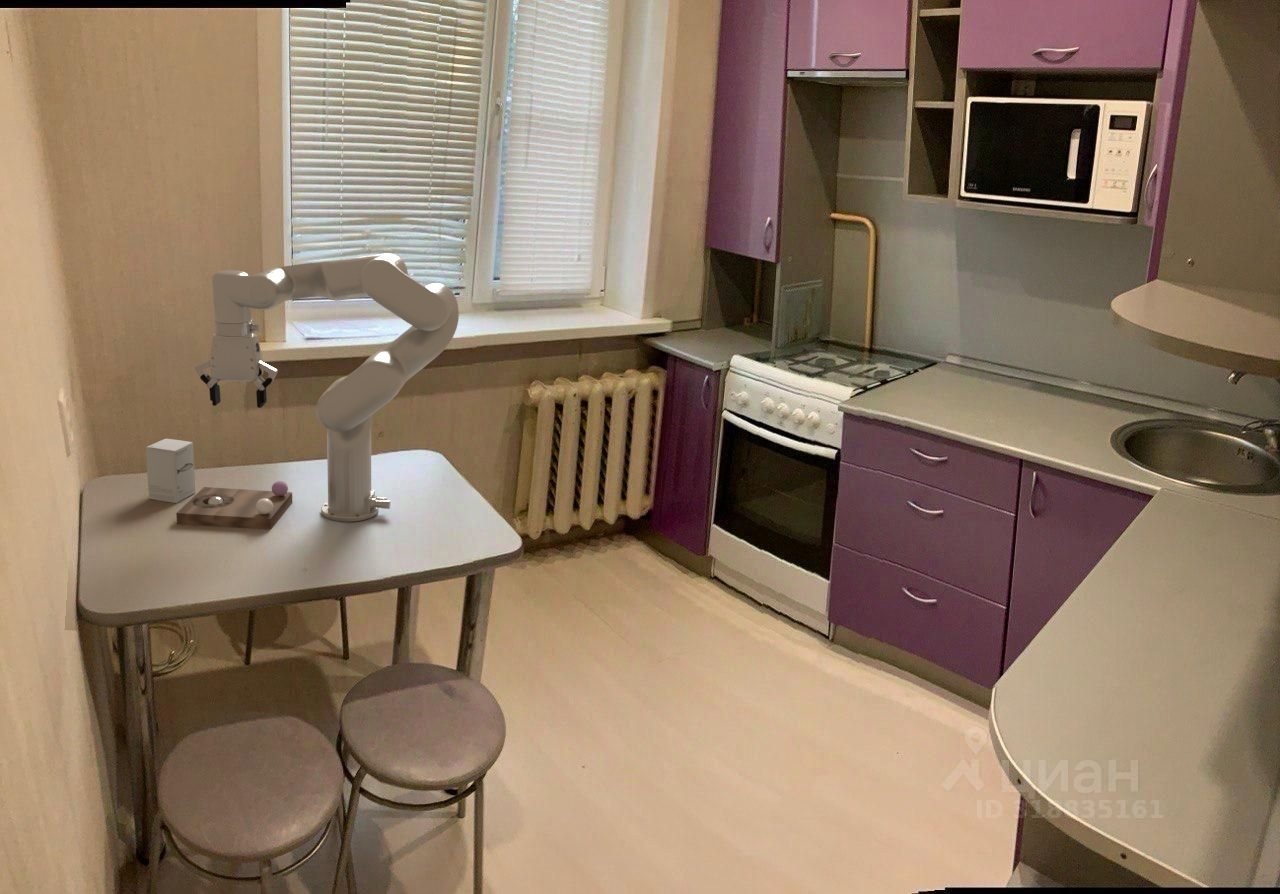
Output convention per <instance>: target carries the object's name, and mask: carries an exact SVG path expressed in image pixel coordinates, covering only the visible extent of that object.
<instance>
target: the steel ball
mask: <svg viewBox="0 0 1280 894" xmlns="http://www.w3.org/2000/svg"><path fill="white" fill-rule="evenodd" d="M223 502H224V501H223V499H222V498H220V497H217V496H214V497H212V498H210V499H209V500H208V503H207V505H216V504H220V503H223Z"/></svg>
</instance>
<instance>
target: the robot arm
mask: <svg viewBox="0 0 1280 894" xmlns="http://www.w3.org/2000/svg"><path fill="white" fill-rule="evenodd" d="M407 267H408V266H407V265H406V263H405V261H404V260H403V259H402V258H401V257H400V256H397V255H396V254H393V253H378V254H371V255H364V256H357V257H349V258H341V259H334V260H333V259H332V260H325V261H319V262H309V263H307V262H306V263H298V264H291V265H286V266H285V265H283V266H279V267H278V266H277V267H271V268H268V269H266V270H263V271H262V272H260V273H256V274H253V275H249V274H248V273H247V272H246V271H241V270H237V269H236V270H235V269H229V270H227V269H226V270H225V269H224V270H218V271H216V272H214V273H213V275H212V277H211V287H212V298H213V299H212V301H213V303H212V304H213V315H214V328H215V333H213V335H212V337H211V338H212V339H211V346H210V359H209V360H207V361H205V362H202V363H201V364H198V365H197V366H195V368H194V369H195V370H196V371H195V372H196V373H197V374H198V376H199V378H200V380H201V381H202V382H203V383H204V384H205V385H206V387H207V388H208V389H209V390H208V391H209V398H210V399H209V400H210V401H211V403H212V405H211V406H214V407H215V406H217V405H219V404H221V388H220V387H221V386H220V385H219V384H218V383H219V381H223V382H224V381H228V382H248V383H250V382H252V384H254V386H255V387H256V388H257V390H256V394H255V395H256V407H257V408H259V409H261V408H262V407H263V406H265V405H266V404H267V401H268V399H267V388H268V387H269V386H270V385H271V383H273V382H274V380H275V378H276V376H277V374H278V369H277V368H275V367H273V366H271V365H269V364H267V363H265V362H263V355H262V351H261V345H260V341H259V338H258V335H257V334H256V333H254V332H256V331H257V332H259V330H260V325H259V324H256V323H254V320H253V315H252V312H253V311H252V310H253V309H254V310H261V311H267V310H268V311H269V310H272V309H274V308H276V307H278V306H279V305H281V304H282V303H284V302H287V301H292V300H298V299H308V298H326V299H329V300H330V301H336V302H337V301H339V302H340V301H345V300H353V299H359V298H367V297H369V298H370V299H371V300H373V302H375V303H377V304H378V305H379V306H381V307H383V308H384V309H386V310H388V311H389V312H391V314H393V315H395V316H396V317H398V318H399V319H402V320H403V321H404V322H406V323H407V324H409V325H411V326H410V327H409V328H408V329H406V330H405V331H404V332H402V333H401V335H399V336H398V337H397V338H395V339H394V340H393V341H392V342H390V343H388V344H387V345H386V346H384V347H383V348H382V349H379V350H377V352H375V353H373V354H371V355H370V356H369V357H368V358H367V359H366V360H365V361H364V362H363V363H361V365H360V366H359V367H357V368H356V369H354V371H352V372H351V373H349V374H348V375H347V376H342V377H340V378H338V379H336V380H335V381H333V382H332V383H331V384H330V385H329V387H328V388H327V389H326V390H325V391H324V392H323V393H322V394H321V395H320V397H319V398H318V401H317V404H316V410H315V411H316V417H317V419H318V421H319V424H321V425H322V427H324V428H325V429H327V430H326V431H327V432H326V433H327V434H326V435H327V437H326V440H327V442H326V443H327V444H326V449H327V451H326V452H327V453H326V454H327V455H326V456H327V457H326V458H327V501H326V502H325V503H323V504H322V505H321V507H320V512H321V513H320V514H321V515H322V516H323V517H325V518H327V519H328V520H332V521H335V522H336V521H337V522H346V523H347V522H360V521H365V520H368V519H372V518H373V517H375V516H376V515H377V514H378V513H379V509H386V510H387V509H388V510H389V509H391V500H388V497H386V496H385V497H384V496H381V497H379V496H378V495H375V493H376V490H374V489H372V429H373V428H372V426H373V425H372V423H373V414H375V413H376V412H377V411H379V410H380V409H381V408H383V407H384V406H385V405H387V404H388V403H389V402H391V401H392V400H393V399H394V398H395V397H396V396H397V395H399V392H400V391H401V390H402V388H403V387H404V386H405V384H406V383H407V382H408V380H410V379H411V378H412V377H413V376H415V375H416V374H417V373H419V372H420V371H421V370H422V369H424V368H425V367H426V366H427V365H429V364H430V363H431V362H432V361H433V360H435V359H436V358H437V357H438V356H439V355H440V354H441V353H443V352H444V351H445V349H446V348H447V347H448V346H449V344H450V343H451V341H452V339H453V338H454V335H455V334H456V331H457V328H458V325H459V316H460V315H459V314H460V313H459V305H458V301H457V297H456V295H455V293H454V291H453V290H452V289H451V288H450V287H449V286H447V285H445V284H443V283H438V282H437V283H435V282H432V283H430V284H427V285H423V284H421V283H419V282H418V281H416V279H414V278H412V277H411V276H409V273H408V268H407ZM208 368H210V373H211V376H210V375H209V374H208V373H207V372H206V370H207V369H208ZM264 372H266V373H267V374H268V376H267V377H266V379H264V377H262V376H263V375H264Z"/></svg>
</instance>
